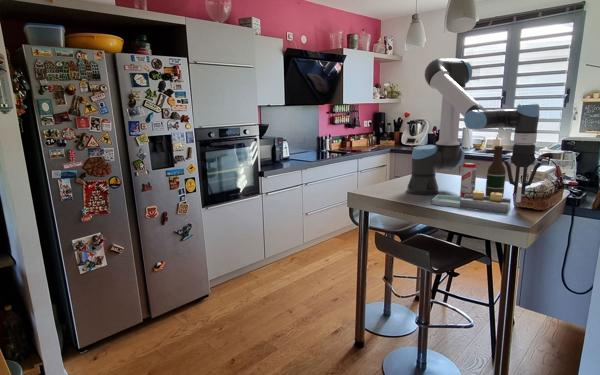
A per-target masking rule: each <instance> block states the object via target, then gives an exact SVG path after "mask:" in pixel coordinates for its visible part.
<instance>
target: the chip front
mask: <svg viewBox="0 0 600 375" xmlns="http://www.w3.org/2000/svg"><path fill="white" fill-rule="evenodd" d="M502 194H503V193H496V192H492V193H491V196H490V201H491V202H500V203H502V198H503V197H502ZM503 195H504V194H503Z"/></svg>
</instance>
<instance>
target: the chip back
mask: <svg viewBox="0 0 600 375" xmlns="http://www.w3.org/2000/svg"><path fill="white" fill-rule="evenodd" d="M484 196H485V192H484V190H475V191H473V193H472V199H473V200H482V201H483V200H484Z"/></svg>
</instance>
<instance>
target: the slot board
mask: <svg viewBox="0 0 600 375" xmlns="http://www.w3.org/2000/svg"><path fill="white" fill-rule="evenodd" d="M511 199H512V198H509V197H502V203H500V202H491V201H490V196H486V195H484V200H483V201H482V200H473V199H472V194H465V195H464V198H461V199H460V209H468V208H469V209H470V210H476V209H477V210H478V211H484V212H492V213H500V214H501V213H502V214H509V210H510V209H511V201H512V200H511ZM469 209H468V210H469ZM477 210H476V211H477Z"/></svg>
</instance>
